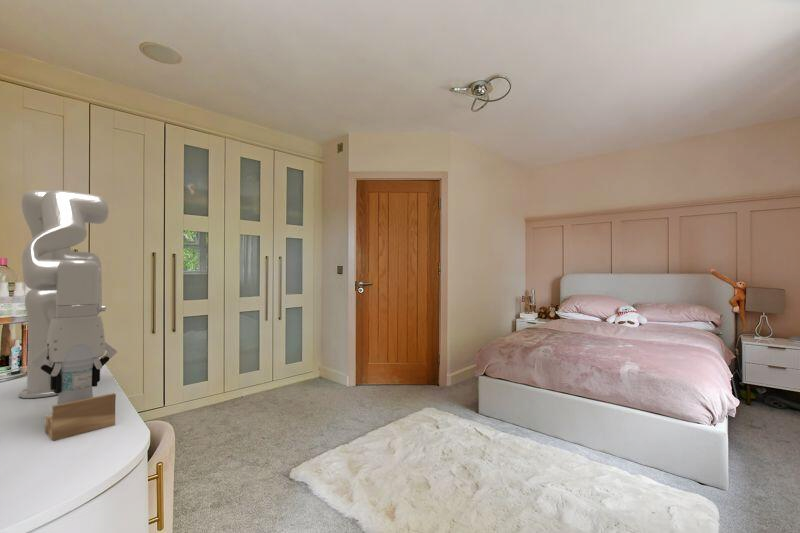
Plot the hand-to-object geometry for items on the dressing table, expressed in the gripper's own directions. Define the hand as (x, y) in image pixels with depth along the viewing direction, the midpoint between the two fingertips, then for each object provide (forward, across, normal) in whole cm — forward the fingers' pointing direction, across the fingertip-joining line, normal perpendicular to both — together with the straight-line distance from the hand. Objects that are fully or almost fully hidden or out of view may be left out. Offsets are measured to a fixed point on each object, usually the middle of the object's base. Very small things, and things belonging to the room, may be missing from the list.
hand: (75, 388), depth 87 cm
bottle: (+7, 0, 0) cm, 7 cm away
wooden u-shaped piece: (+8, 0, +5) cm, 10 cm away
